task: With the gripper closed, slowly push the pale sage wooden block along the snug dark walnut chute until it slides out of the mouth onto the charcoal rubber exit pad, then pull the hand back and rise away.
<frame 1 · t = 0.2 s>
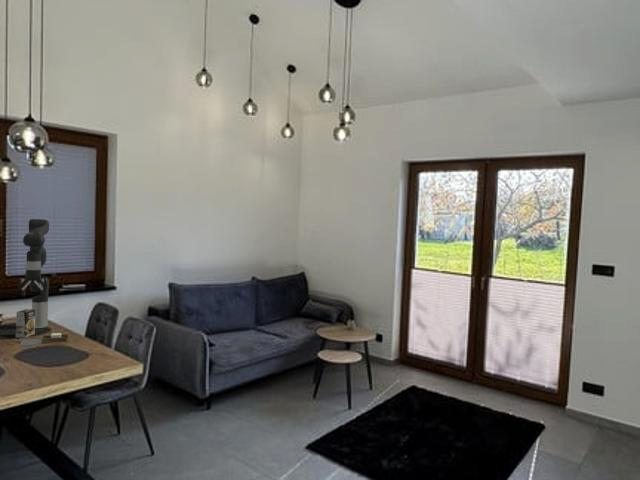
hand: (32, 296, 264), 29 cm above the table, fingers open, 8 cm apart
pale block: (55, 340, 275), point 1 cm above the table, touching chute
exit pad: (31, 342, 269), on the table
coffee box: (25, 336, 282), on the table
chute: (55, 341, 274), on the table
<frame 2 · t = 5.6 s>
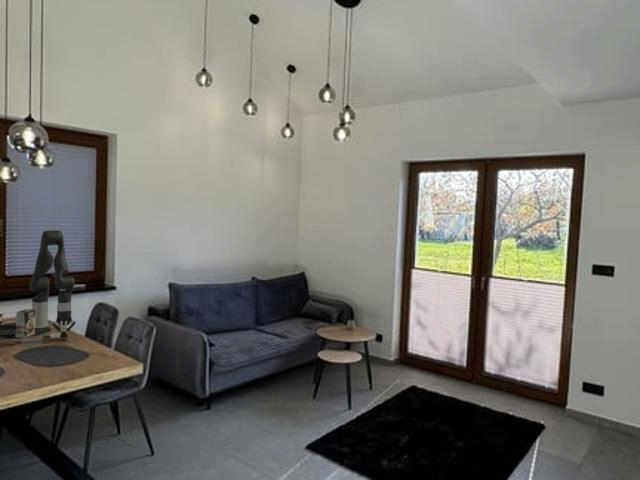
hand: (63, 337, 276), 2 cm above the table, fingers closed
pale block: (55, 340, 274), point 1 cm above the table, touching chute, gripper
everything else where it was.
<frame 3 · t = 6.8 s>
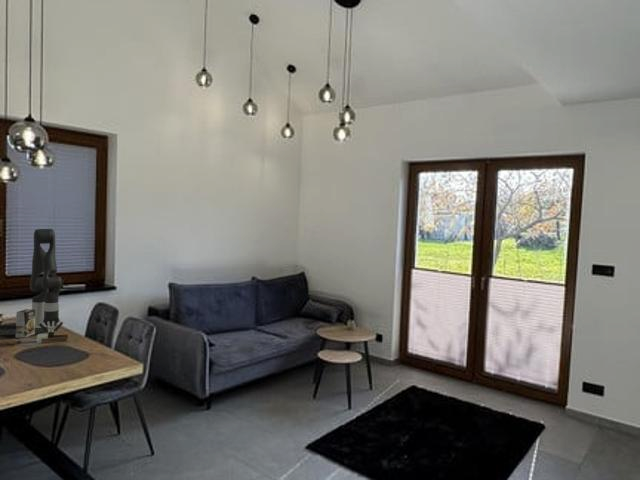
hand: (50, 338, 273), 2 cm above the table, fingers closed
pale block: (42, 341, 271), point 1 cm above the table, touching gripper
everything else where it was.
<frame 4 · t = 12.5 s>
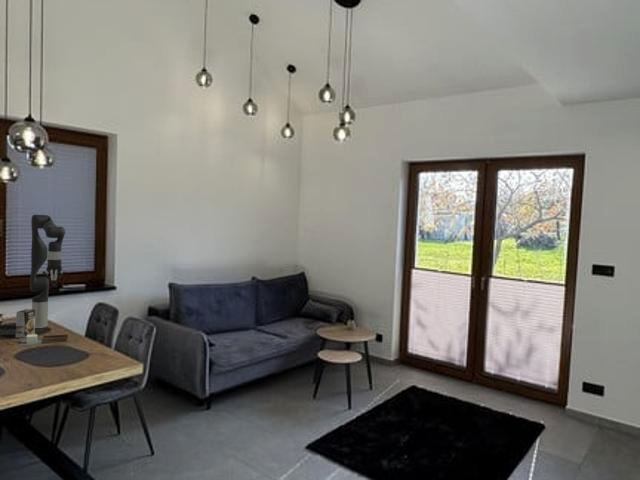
hand: (53, 286, 283), 32 cm above the table, fingers closed
pale block: (31, 342, 269), point 1 cm above the table, touching exit pad
everything else where it was.
at the end: pale block inside the target area (1.3 cm from its centre), point 0.6 cm above the table; pale block moved 12.4 cm from its start; pale block tilted 0° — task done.
